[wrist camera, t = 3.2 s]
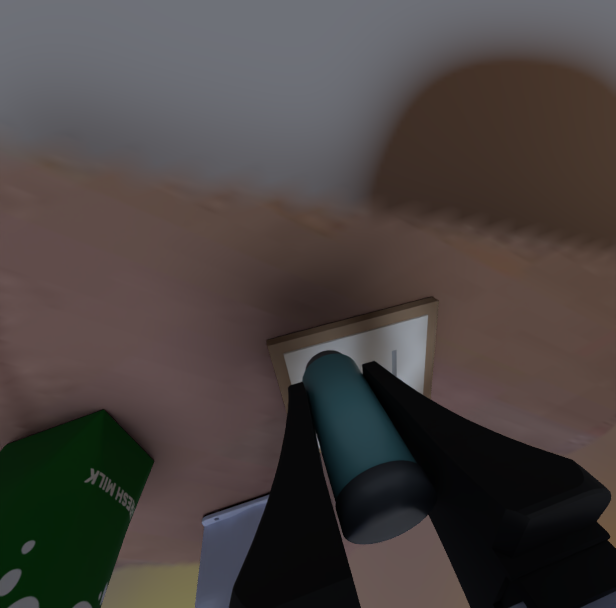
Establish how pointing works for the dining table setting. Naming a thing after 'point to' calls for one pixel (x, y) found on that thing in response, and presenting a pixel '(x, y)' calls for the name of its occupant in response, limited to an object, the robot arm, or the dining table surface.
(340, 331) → the writing board
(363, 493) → the marker
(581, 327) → the dining table surface
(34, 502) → the milk carton
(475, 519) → the robot arm
